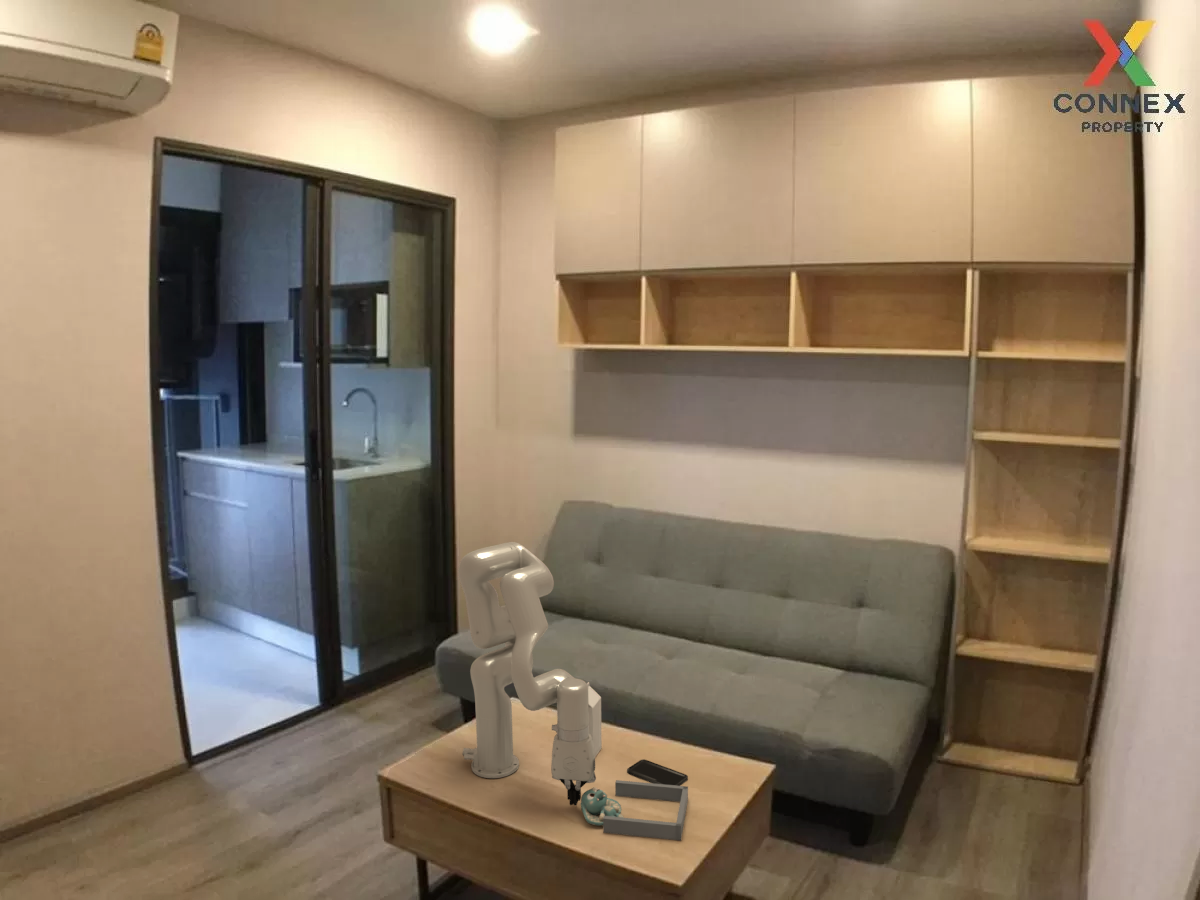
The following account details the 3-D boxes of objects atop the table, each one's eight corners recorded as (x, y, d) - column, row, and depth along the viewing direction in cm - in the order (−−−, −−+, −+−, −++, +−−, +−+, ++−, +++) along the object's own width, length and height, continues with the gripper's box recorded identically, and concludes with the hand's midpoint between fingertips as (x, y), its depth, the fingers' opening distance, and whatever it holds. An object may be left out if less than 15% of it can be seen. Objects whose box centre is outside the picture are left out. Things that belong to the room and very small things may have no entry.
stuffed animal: (607, 816, 197) (570, 788, 205) (603, 842, 199) (567, 814, 207) (638, 797, 205) (601, 771, 212) (633, 822, 207) (597, 796, 214)
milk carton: (601, 748, 240) (601, 683, 237) (593, 760, 233) (592, 693, 231) (577, 744, 242) (576, 680, 240) (568, 756, 236) (567, 690, 233)
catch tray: (603, 832, 200) (603, 818, 200) (616, 793, 217) (616, 780, 216) (681, 840, 197) (681, 826, 196) (688, 799, 213) (688, 786, 213)
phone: (642, 758, 233) (689, 775, 223) (642, 762, 233) (689, 779, 224) (624, 770, 227) (672, 788, 217) (625, 774, 227) (672, 792, 218)
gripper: (538, 735, 205) (540, 807, 208) (600, 741, 202) (601, 814, 205) (547, 721, 212) (548, 791, 215) (606, 726, 209) (607, 797, 212)
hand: (574, 802), depth 210 cm, fingers closed
